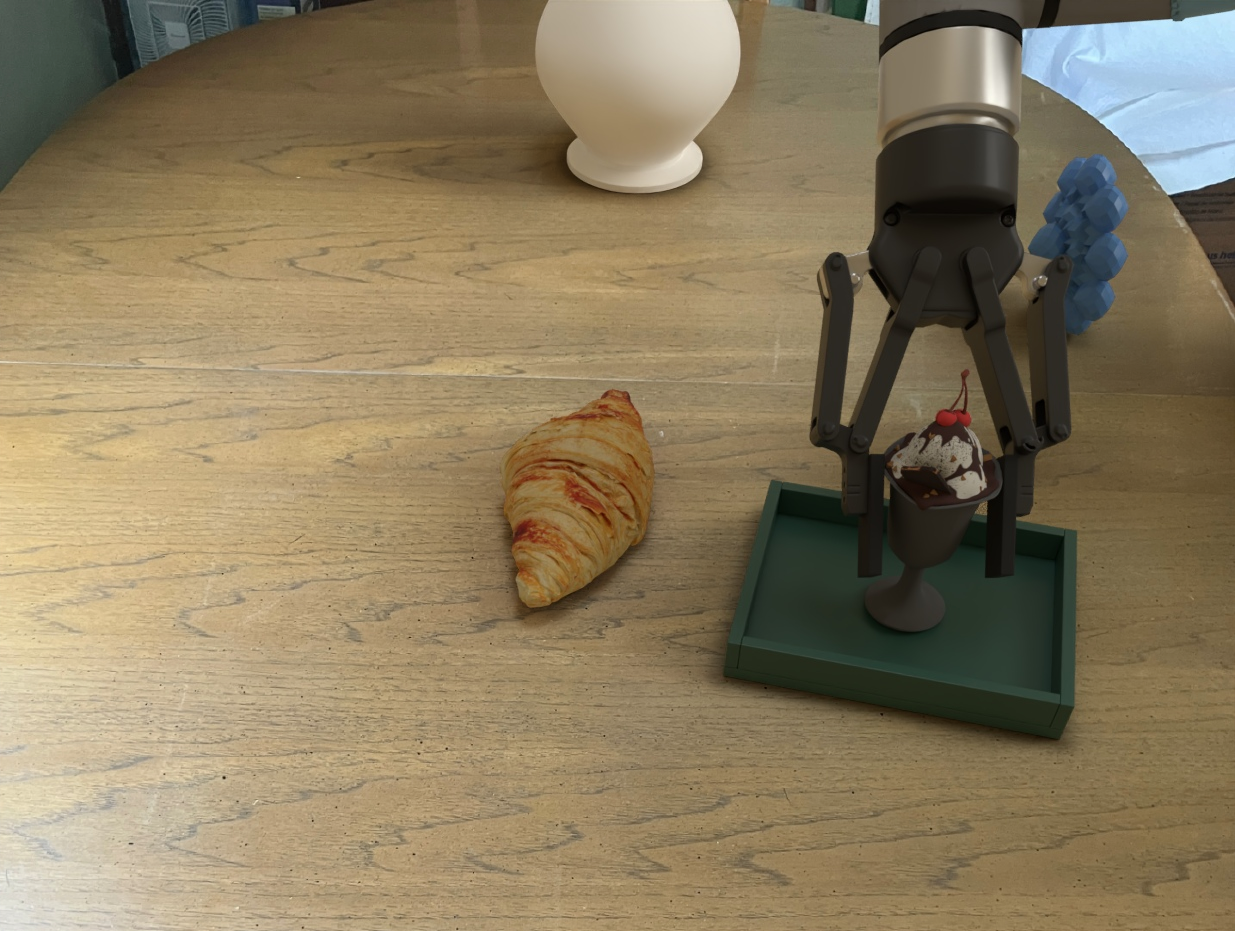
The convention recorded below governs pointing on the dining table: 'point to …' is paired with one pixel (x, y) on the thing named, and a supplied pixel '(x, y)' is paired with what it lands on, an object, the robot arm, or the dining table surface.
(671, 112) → the decorative vase
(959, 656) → the tray
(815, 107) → the dining table surface
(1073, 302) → the grapes
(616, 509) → the croissant
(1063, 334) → the robot arm
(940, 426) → the sundae
